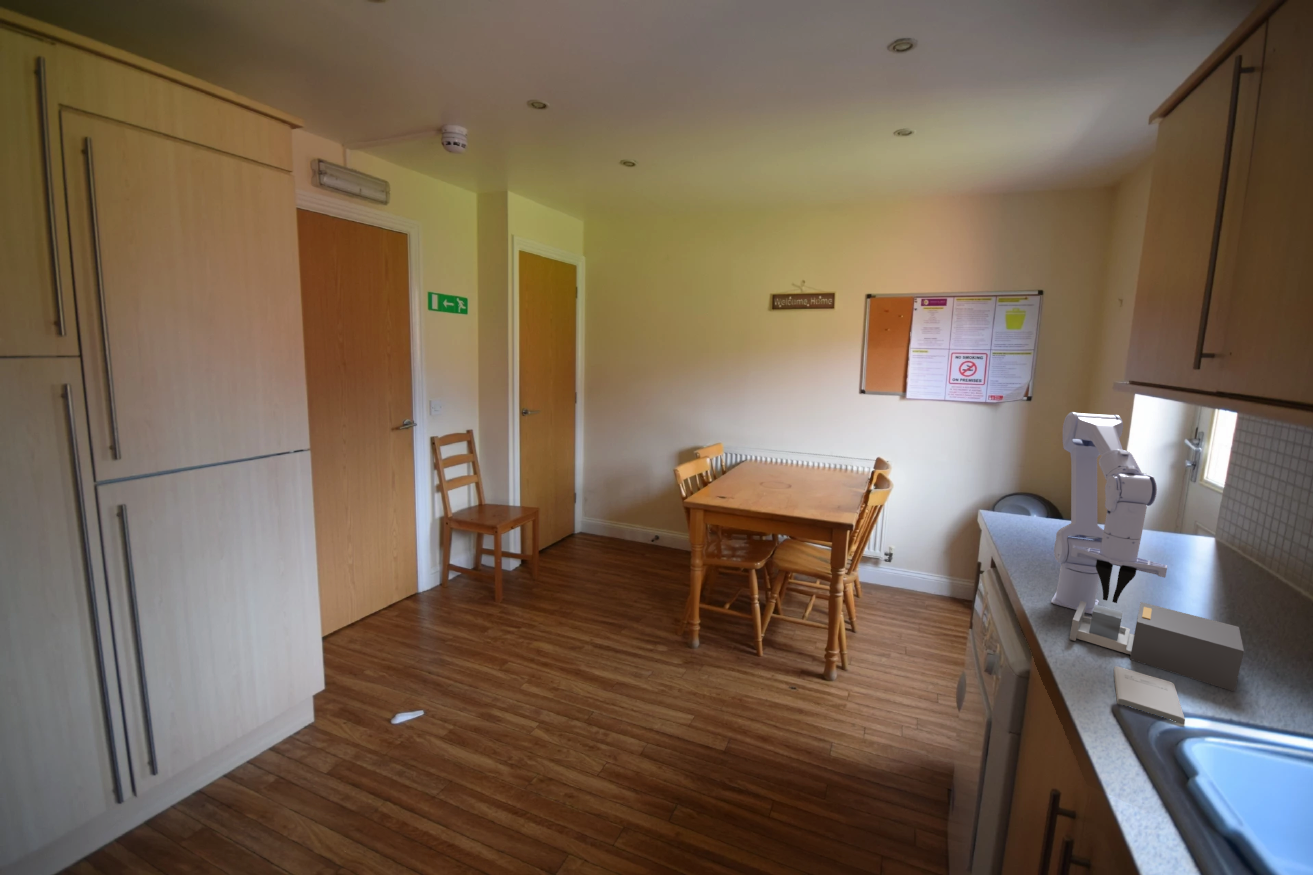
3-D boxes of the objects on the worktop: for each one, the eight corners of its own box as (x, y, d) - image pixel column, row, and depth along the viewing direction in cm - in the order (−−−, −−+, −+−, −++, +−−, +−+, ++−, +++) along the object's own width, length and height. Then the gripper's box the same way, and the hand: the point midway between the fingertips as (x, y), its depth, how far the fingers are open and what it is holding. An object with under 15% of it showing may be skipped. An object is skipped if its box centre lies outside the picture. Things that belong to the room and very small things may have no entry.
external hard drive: (1116, 706, 93) (1112, 672, 103) (1183, 727, 88) (1173, 690, 98) (1118, 697, 93) (1114, 664, 103) (1185, 718, 88) (1174, 682, 98)
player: (1133, 636, 116) (1140, 600, 114) (1230, 664, 106) (1239, 625, 105) (1129, 659, 107) (1137, 620, 105) (1234, 691, 97) (1244, 649, 96)
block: (1091, 626, 117) (1095, 604, 116) (1118, 634, 114) (1122, 611, 113) (1088, 634, 114) (1092, 611, 113) (1116, 642, 111) (1121, 618, 110)
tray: (1077, 619, 122) (1080, 600, 121) (1162, 643, 113) (1166, 623, 112) (1069, 639, 113) (1072, 619, 112) (1160, 667, 104) (1164, 645, 103)
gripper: (1073, 529, 112) (1062, 594, 115) (1171, 549, 103) (1157, 619, 105) (1078, 522, 118) (1068, 584, 120) (1171, 540, 108) (1158, 607, 110)
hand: (1110, 599), depth 113 cm, fingers closed
